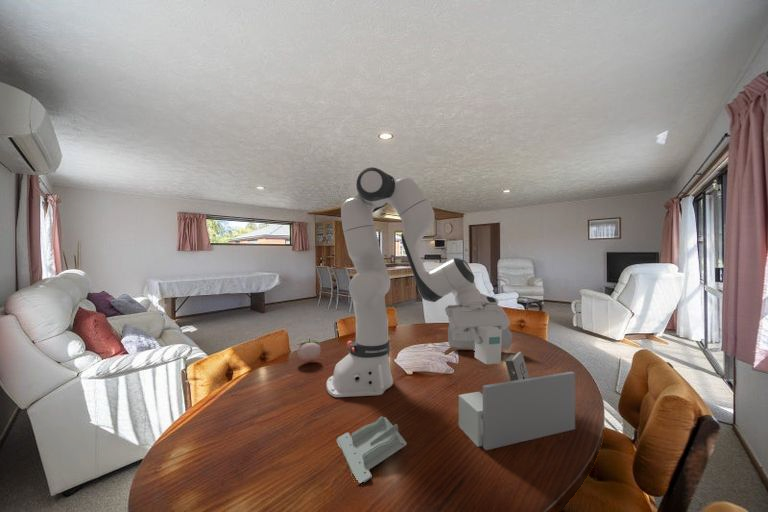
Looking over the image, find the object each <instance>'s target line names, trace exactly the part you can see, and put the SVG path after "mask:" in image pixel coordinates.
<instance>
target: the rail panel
mask: <svg viewBox="0 0 768 512" xmlns="http://www.w3.org/2000/svg"><path fill="white" fill-rule="evenodd" d="M482 394H483V418H482V419H481V434H482V435H483V446H482V448H483V449H484V450H485V451H488V450H493V449H497V448H501V447H505V446H510V445H515V444H519V443H521V442H522V443H523V442H526V441H531V440H535V439H536V440H537V439H539V438H543V437H548V436H552V435H557V434H561V433H565V432H569V431H573V430H576V373H575V372H573V371H565V372H560V373H554V374H547V375H541V376H535V377H529V378H527V379H521V380H515V381H511V380H509V381H504V382H496V383H491V384H490V383H489V384H484V385H482Z"/></svg>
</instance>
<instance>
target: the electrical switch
mask: <svg viewBox="0 0 768 512" xmlns="http://www.w3.org/2000/svg"><path fill="white" fill-rule="evenodd" d="M504 362H505V366H506V369H507V373H508V376H509V381H515V380H521V379H527V378H530V375H529V371H528V368H527V365H526V362H525V358H524V355H523V353H522V351H518V352H517V353H515V354H510V355H509V356H508V357H507V358H506V359H505V360H504Z"/></svg>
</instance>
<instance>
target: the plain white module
mask: <svg viewBox="0 0 768 512" xmlns="http://www.w3.org/2000/svg"><path fill="white" fill-rule="evenodd" d="M475 333H476V334H477V335H478V336H481V338H482V340H483V343H482V344H476V342H475V352H474V357H473V358H475V359H476V360H478V361H480V362H481V363H483V364H485V365H488V366H489V365H495V364H501V363H502V349H501V339H502V330H501V329H498V328H496V327H493V326H481V327H476V328H475Z"/></svg>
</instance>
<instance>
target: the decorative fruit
mask: <svg viewBox="0 0 768 512" xmlns="http://www.w3.org/2000/svg"><path fill="white" fill-rule="evenodd" d="M321 344H322V343H321V342H320V341H318V340H315V339H313V340H311V338H309V339H308V341H307V340H303V341H300V342H299V343H298V344H297V346H298V347H297V356H298V358H299V360H300V361H301V362H304V363H307V364H311V363H314V361H316V360H317V359H318V358H319V357H320V355H321V350H322V349H321V348H322V347H321V346H320V345H321Z"/></svg>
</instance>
